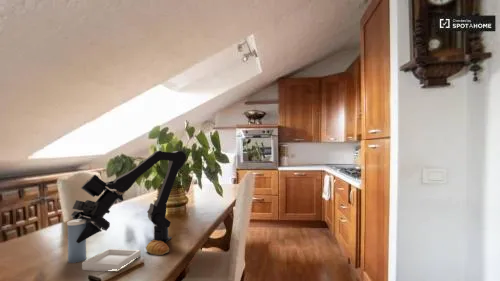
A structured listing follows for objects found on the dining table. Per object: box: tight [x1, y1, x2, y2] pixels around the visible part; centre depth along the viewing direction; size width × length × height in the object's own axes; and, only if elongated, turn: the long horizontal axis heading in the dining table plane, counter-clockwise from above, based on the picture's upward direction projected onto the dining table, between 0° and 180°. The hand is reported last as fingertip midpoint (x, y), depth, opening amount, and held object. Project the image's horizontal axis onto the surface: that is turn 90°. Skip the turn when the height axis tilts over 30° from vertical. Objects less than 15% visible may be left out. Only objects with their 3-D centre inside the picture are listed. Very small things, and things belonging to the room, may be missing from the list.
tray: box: [81, 248, 142, 272], centre depth 99 cm, size 13×13×2 cm
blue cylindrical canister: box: [66, 219, 87, 264], centre depth 103 cm, size 6×6×14 cm
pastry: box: [145, 239, 170, 256], centre depth 109 cm, size 9×7×4 cm
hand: (72, 240), depth 102 cm, fingers open, 6 cm apart
